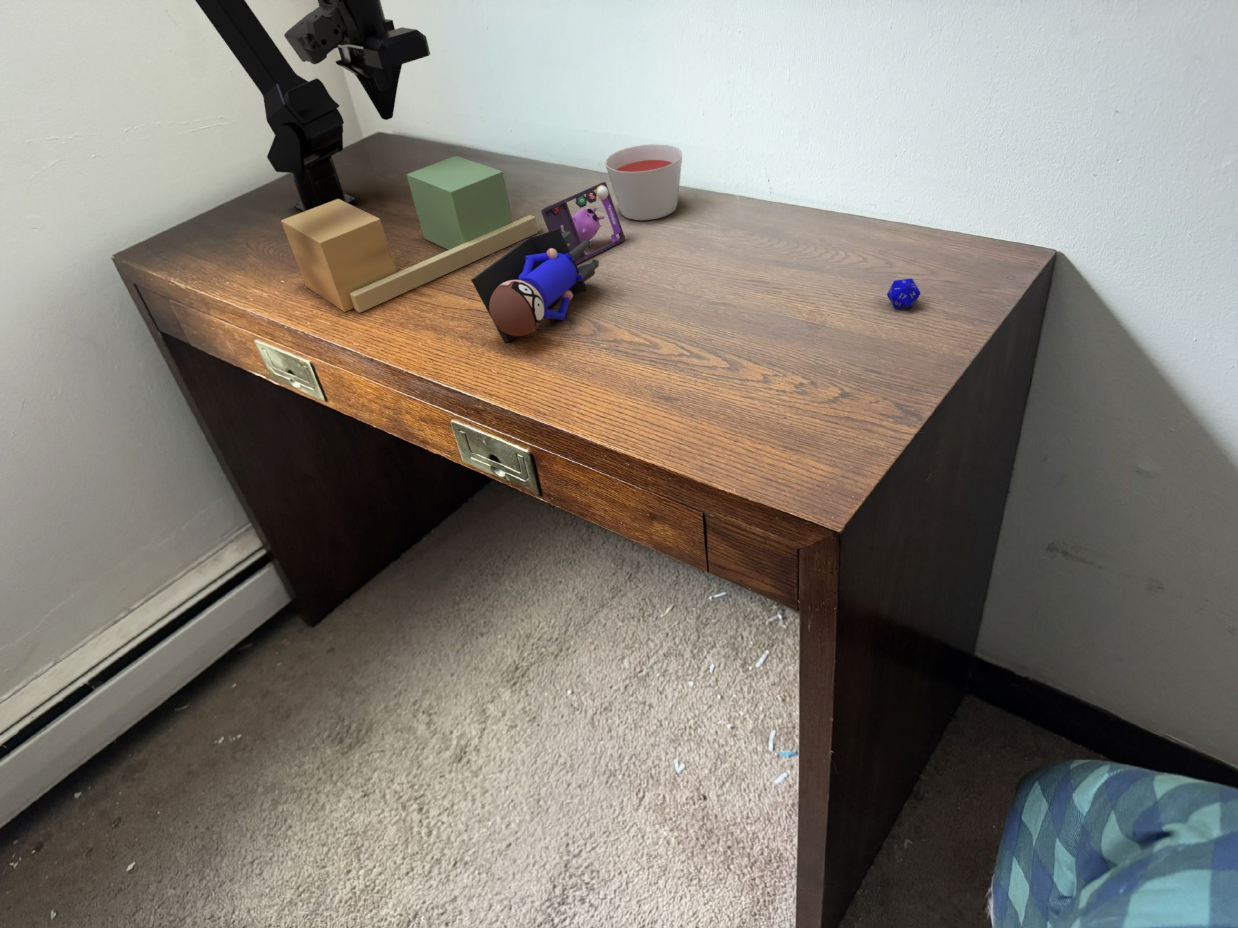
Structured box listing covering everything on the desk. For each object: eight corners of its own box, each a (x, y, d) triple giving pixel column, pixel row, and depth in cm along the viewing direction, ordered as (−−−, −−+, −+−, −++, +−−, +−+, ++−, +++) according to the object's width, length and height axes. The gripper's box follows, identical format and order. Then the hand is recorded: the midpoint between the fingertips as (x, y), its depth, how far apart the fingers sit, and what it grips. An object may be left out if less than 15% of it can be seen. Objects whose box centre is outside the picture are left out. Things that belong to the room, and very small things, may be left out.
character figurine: (613, 290, 90) (528, 364, 81) (556, 275, 93) (468, 345, 84) (608, 220, 85) (517, 290, 76) (547, 206, 88) (452, 273, 79)
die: (920, 301, 80) (929, 287, 78) (900, 319, 80) (908, 306, 77) (898, 282, 81) (906, 267, 78) (878, 300, 81) (886, 285, 78)
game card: (545, 208, 91) (609, 180, 95) (521, 214, 95) (583, 187, 100) (568, 269, 94) (629, 239, 98) (543, 272, 98) (603, 243, 102)
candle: (604, 226, 102) (597, 173, 98) (620, 196, 109) (614, 145, 105) (679, 224, 100) (675, 170, 96) (691, 194, 107) (687, 142, 103)
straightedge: (354, 309, 93) (348, 293, 92) (532, 230, 104) (529, 214, 103) (359, 313, 92) (354, 296, 91) (538, 232, 103) (535, 216, 102)
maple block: (305, 286, 99) (280, 220, 94) (360, 263, 103) (338, 198, 98) (344, 312, 93) (319, 242, 88) (401, 287, 96) (380, 218, 91)
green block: (423, 238, 106) (405, 174, 101) (471, 218, 109) (456, 155, 104) (467, 259, 100) (451, 192, 95) (516, 237, 103) (502, 171, 98)
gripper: (245, -12, 98) (295, 128, 108) (317, -5, 86) (365, 152, 96) (333, -34, 104) (373, 102, 113) (412, -29, 92) (449, 122, 101)
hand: (387, 118), depth 106 cm, fingers closed
